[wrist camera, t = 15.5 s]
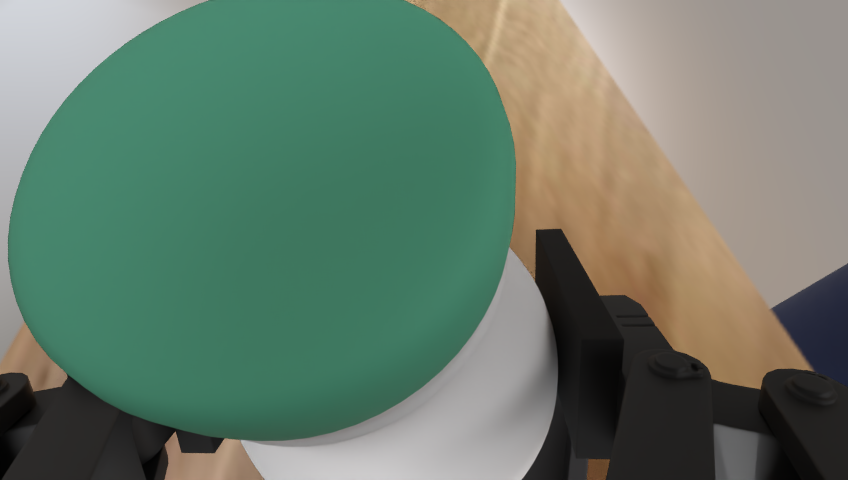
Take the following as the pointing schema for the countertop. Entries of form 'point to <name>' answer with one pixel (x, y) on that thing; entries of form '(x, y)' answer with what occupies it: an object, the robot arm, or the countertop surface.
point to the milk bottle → (293, 243)
